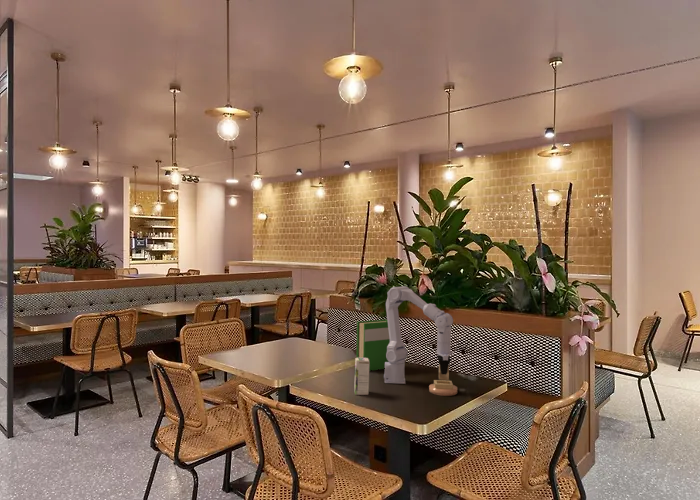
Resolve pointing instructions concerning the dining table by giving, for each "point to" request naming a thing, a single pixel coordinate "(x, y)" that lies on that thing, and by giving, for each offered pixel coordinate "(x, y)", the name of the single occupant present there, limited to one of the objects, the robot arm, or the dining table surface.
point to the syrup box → (361, 376)
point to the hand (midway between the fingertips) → (443, 373)
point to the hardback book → (373, 342)
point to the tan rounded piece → (443, 388)
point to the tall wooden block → (443, 376)
